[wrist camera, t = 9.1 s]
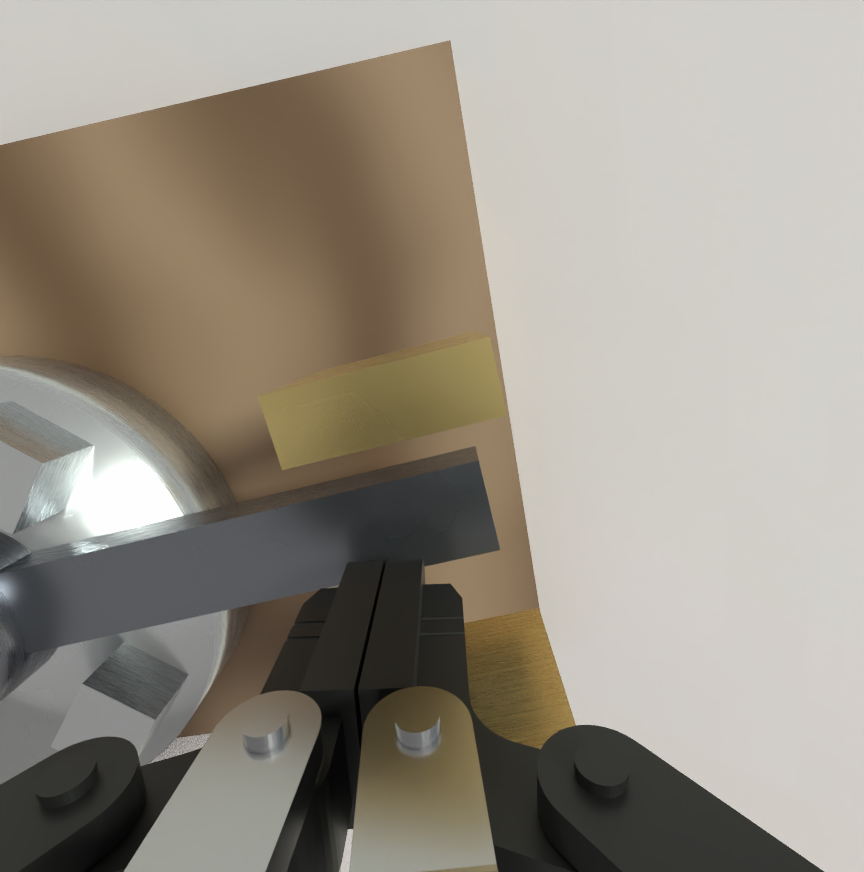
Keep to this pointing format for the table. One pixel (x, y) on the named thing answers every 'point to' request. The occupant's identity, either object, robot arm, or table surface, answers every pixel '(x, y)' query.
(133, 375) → the base plate
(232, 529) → the silver rotary lever
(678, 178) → the table surface
